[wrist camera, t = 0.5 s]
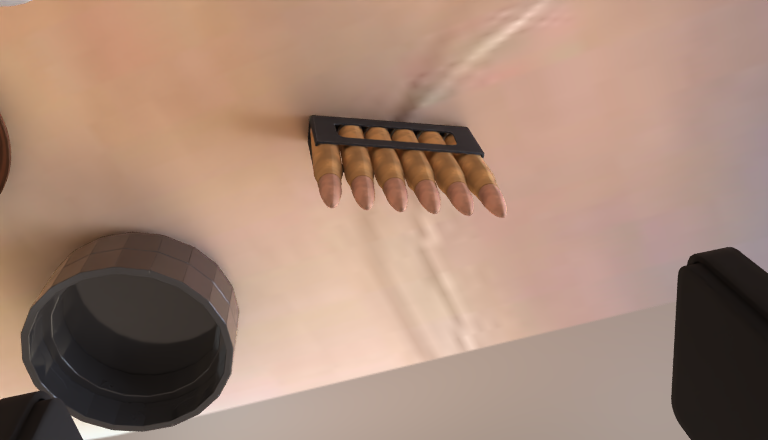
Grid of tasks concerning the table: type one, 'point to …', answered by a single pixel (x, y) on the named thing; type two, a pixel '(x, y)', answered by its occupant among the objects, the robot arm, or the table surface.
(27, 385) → the table surface
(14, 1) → the lightbulb
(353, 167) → the ammunition clip
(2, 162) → the cup and saucer
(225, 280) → the bowl
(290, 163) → the table surface
